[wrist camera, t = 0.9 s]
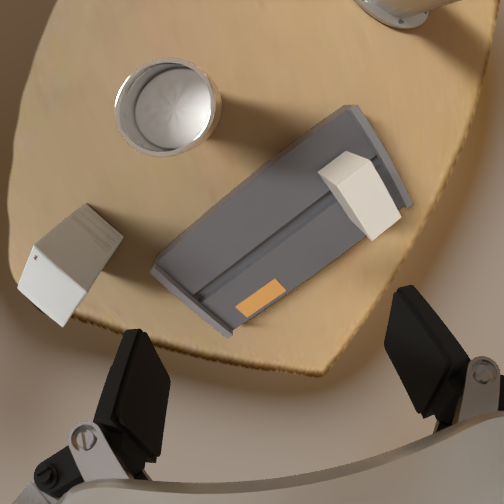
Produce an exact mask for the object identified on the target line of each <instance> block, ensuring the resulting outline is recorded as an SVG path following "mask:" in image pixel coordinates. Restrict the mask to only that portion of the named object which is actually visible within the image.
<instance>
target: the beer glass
mask: <svg viewBox="0 0 504 504" xmlns="http://www.w3.org/2000/svg"><path fill="white" fill-rule="evenodd" d="M221 110H222V101H221V96H220V92H219V90H218V87H217V86H216V84H215V82H214V81H213V80H212V79H211V77H210V76H209V75H208V74H207V73H205V72H204V71H203V70H201V69H200V68H199V67H198V66H196V65H195V64H193V63H191V62H189V61H186V60H183V59H179V58H160V59H156V60H152V61H150V62H147V63H145V64H143V65H142V66H140V67H139V68H137V69H136V70H135V71H133V72H132V73H131V74H130V75H129V76H128V78H127V79H126V80H125V81H124V83H123V84H122V86H121V88H120V90H119V92H118V95H117V98H116V103H115V120H116V125H117V128H118V130H119V132H120V134H121V136H122V137H123V139H124V140H125V141H126V142H127V143H128V144H129V145H130V146H131V147H132V148H133V149H135V150H136V151H138V152H140V153H142V154H145V155H148V156H153V157H169V156H174V155H177V154H180V153H183V152H186V151H188V150H191V149H193V148H195V147H197V146H198V145H200V144H201V143H203V142H204V141H205V140H206V139H207V138H208V137H209V136H210V135H211V134H212V133H213V131H214V130H215V128H216V126H217V124H218V122H219V119H220V116H221Z"/></svg>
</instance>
